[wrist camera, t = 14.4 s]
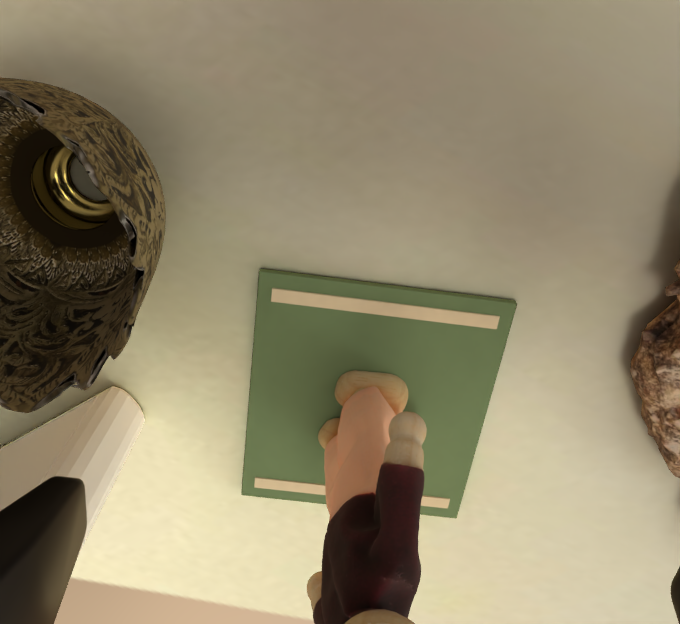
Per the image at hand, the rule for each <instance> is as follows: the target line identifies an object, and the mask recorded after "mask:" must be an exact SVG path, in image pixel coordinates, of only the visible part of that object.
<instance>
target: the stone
mask: <svg viewBox="0 0 680 624" xmlns="http://www.w3.org/2000/svg"><path fill="white" fill-rule="evenodd" d="M674 269H675V271H676V273H677V275H678V277H679V280H677V281H675V282H674V283H672V284H670V285H669V286H667V287H665V289H666V296H672V295H676V296H677V297H678V298H677V299H676V301H674V302H673V303H672V304H671V305H670V306H669V307H667V308H666V309H665V310H664V311H663V312H661V313H660V314H659V315H658V316H657V317H656V318H654V319H653V320H652V321H651V322H649V323H648V324H647V327H646V328H645V329H644V331H642V335H641V341H640V347H639V348H638V350H637V352H636V353H635V355H634V356H633V358H632V360H631V370H630V373H631V376H632V379H633V382H634V385H635V388H636V391H637V393H638V394H639V396H640V397H641V398H642V410H641V416H642V418H643V420H644V422H645V424H646V425H647V427H648V434H649V435H650V436H652V437H653V438H654V440H655V441H656V443H657V445H658V446H659V450H660V452H661V454H662V456H663V458H664V460H665V462H666V464H667V466H668V468H669V470H670V471H671V472H672V473H673V474H674V475H675V476H676V477H679V478H680V260H679V261H678V263H677V265H676V266H675V268H674Z"/></svg>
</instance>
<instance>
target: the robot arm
mask: <svg viewBox="0 0 680 624" xmlns="http://www.w3.org/2000/svg"><path fill="white" fill-rule="evenodd" d="M86 528H87V512H86V497H85V485H84V483H83V481H82V480H81V479H79V478H72V477H63V476H54V477H51V478H49V479H47V480H46V481H44V482H43V483H41V484H40V485H38V486H37V487H35V488H34V489H32V490H31V491H29V492H28V493H26V494H25V495H23V496H22V497H20V498H19V499H17V500H16V501H14V502H13V503H11V504H10V505H8V506H7V507H5V508H4V509H3V510H1V511H0V624H54V621H55V618H56V615H57V613H58V609H59V607H60V604H61V602H62V599H63V596H64V593H65V590H66V588H67V585H68V582H69V579H70V576H71V574H72V571H73V568H74V565H75V562H76V560H77V557H78V554H79V551H80V548H81V546H82V543H83V540H84V537H85V533H86ZM671 598H672V602H673V605H674V609H675V612H676V615H677V618H678V621H679V624H680V567H679V569H678V571H677V573H676V575H675V577H674V579H673V581H672V585H671Z"/></svg>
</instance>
